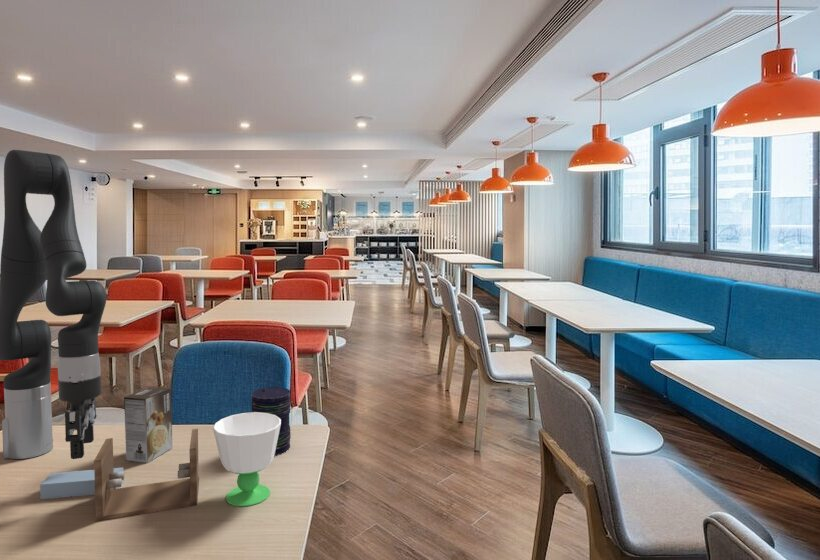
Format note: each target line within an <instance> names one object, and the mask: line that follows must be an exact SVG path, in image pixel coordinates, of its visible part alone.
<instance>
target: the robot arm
mask: <svg viewBox="0 0 820 560" xmlns="http://www.w3.org/2000/svg"><path fill="white" fill-rule="evenodd" d="M4 159H5V160H4V165H3V189H4V190H3V195H4V197H3V199H4V200H3V201H4V221H3V234H2V244H1V251H0V361H2V362H3V361H4V362H5V361H7V362H9V361H15V360H16V361H17V360H24V359H30V360H29V361H28V362H27V363H25V365H23V366H21V367H20V368H18V369H16V370H13V371H12V372H9V373H8V374H6V375H5V376H4V378H3V394H4V396H3V397H4V415H5V417H4V418H3V419H2V420H1V431H2V433H1V435H2V436H1V437H2V453H3V460H4V459H11V460H24V459H29V458H30V459H31V458H35V457H38V456H41V455H44V454H46V453H48V452H50V451H52V450H53V448H54V438H53V437H54V436H53V434H54V433H53V432H54V431H53V414H52V411H53V410H52V409H53V408H52V407H53V406H52V387H51V386H52V385H51V384H52V382H51V375H52V331H51V328H50V325H49V323H48V322H47V321H46V320H44V319H33V320H31V319H30V320H22V321H21V320H19V321H18V319H19V317H20V314H21V312H22V310H23V308H24V307H25V305H26V304H27V303H28V302H29V300H30V299H32V297H33V296H34V295H35V294H37V292H38V291H39V290H40V289H41V287H43V285H44V284H45V283H46V290H45V306H46V308H47V310H48V311H49V312H50V313H51V314H53V315H54V316H57V317H67V316H78V315H79V316H80V315H82V316H81V318H80V320H79V321H77V323H74V324H72V325H68V326H66V327H63V328H61V329H60V330H59V331H58V333H57V344H58V345H57V347H58V348H57V349H58V361H57V379H58V380H57V382H58V384H57V385H58V399H59V400H60V401H61V402H65V403H67V402H68V403H69V404H70V406H69V407H70V408H68V409H67V411H65V413H64V419H65V422H64V425H65V426H64V427H65V431H64V432H65V433H64V434H65V438H64V440H65V442H66V443H68V442H69V447H70V449H69V450H70V451H69V452H70V459H72V460H76V459H82V458H84V457H85V447H84V446H85V444H89V443H92V442H94V439H95V438H94V437H95V435H94V434H95V433H94V431H95V430H94V425H95V421H96V419H97V407H96V398H97V397H99V396H101V394H102V370H101V369H102V368H101V367H102V366H101V359H100V353H99V351H100V350H99V330H100V326H101V323H102V318H103V314H104V310H105V307H106V304H107V292H106V289H105V287H104V286H103V285H102V283H100V281H97V280H78V281H77V280H75V281H74V280H72V281H67V280H66V279H68V278H72V277H75V276H79V275H81V274H82V273H84V272H85V271H86V270H87V261H86V257H85V254H84V250H83V247H82V243H81V241H80V237H79V233H78V229H77V222H76V213H75V205H74V204H75V203H74V197H73V196H74V195H73V189H72V187H73V186H72V180H71V174H70V171H69V167H68V165H67V162H66V160H65V159H64V158H63V157H62V156H60V155H59V154H53V153H46V152H40V151H39V152H38V151H32V150H31V151H30V150H22V149H11V150H9V151H8V152H7V154H6V156H5V158H4ZM27 194H32V195H34V194H35V195H46V196H47V195H49V196H52V197H53V201H54V205H53V206H54V207H53V209H52V211H51V214H50V216H49V217H48V219H47V220H46V222H45V224H44V226H43V228H42V230H40V228H39V227H38V226H37V224H36V223H35V221H34V219H33V218H32V216H31V214H30V212H29V209H28V205H27ZM74 432H76V434H74Z"/></svg>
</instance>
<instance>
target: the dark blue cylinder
mask: <svg viewBox="0 0 820 560" xmlns="http://www.w3.org/2000/svg"><path fill="white" fill-rule="evenodd" d="M291 404H292V403H291V391H290V389H289V388H287V387H281V386H280V387H279V386H271V387H262V388H258V389H256V390H253V392H251V412H250V413H252V412H260V413H269V414H273V415H276V416H277V417H279V418H280V419H281V426H280V431H279V435H278V440H277V445H276V450H275V455H276V456H279V455H278V454H280V455H283V454H285V453H287V452H288V451H289V450H290V449H291V438H292V437H291V426H290V413H291V409H292V408H291ZM289 448H290V449H289ZM288 449H289V450H288ZM287 450H288V451H287ZM286 451H287V452H286ZM284 452H285V453H284ZM282 453H283V454H282ZM275 455H274V457H275Z"/></svg>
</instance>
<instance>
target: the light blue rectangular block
mask: <svg viewBox="0 0 820 560" xmlns="http://www.w3.org/2000/svg"><path fill="white" fill-rule="evenodd" d="M113 468H114V473H115V472H123V471H124V467H113ZM124 481H125V480H122V484H123V483H124ZM39 488H40V489H39V490H40V492H39V493H40V494H39V495H40V500H48V498H49V500H50V499H57V498H58V499H60V498H59V497H61V498H71V497H70V496H72V497H81V496H93V495H94V496H95V475H94V469H88V470H87V469H85V470H75V471H74V470H73V471H62V472H51V473H50V474H49V475H48V476H47V477H46V478H45V479H44V480H43V481H42V482H41V483H40V485H39ZM118 488H120V487H116V488H114V489H118Z"/></svg>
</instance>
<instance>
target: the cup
mask: <svg viewBox="0 0 820 560" xmlns="http://www.w3.org/2000/svg"><path fill="white" fill-rule="evenodd" d="M213 425H214V426H213V428H212V430H213V434H214V438H215V442H216V447H217V450H218V455H219V459H220V463H221V464H222V466H223V467H224V469H225V470H226V471H228V472H229V473H232V474H235V475H237V480H236V484H237V487H234V488H233V489H231V490H230V491H229V492H228V493H227V494H226V496H225V497H226V498H225V501H227V503H228V504H229V505H231V506H233V507H242V508H243V507H244V508H245V507H250V506H251V507H252V506H255V505H257V504H261V503H262V502H264V501H266V500H267V499H268V498H269V497H270V495H271V489H270V488H269V487H268V486H266V485H263V484H259V482H260V474H259V473H258V472H260V471H262V470H264V469H266V468H267V467H268V466H269V465H270V464H271V463H272V461H274V459H275V456H274V455H275V450H276V445H277V440H278V435H279V431H280V426H281V419H280V418H279V417H277V416H276V415H273V414H269V413H260V412H252V413H251V412H243V413H236V414H231V415H229V416H226V417H224V418H221V419H219V420H218V421H217V422H215V423H214V424H213Z"/></svg>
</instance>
